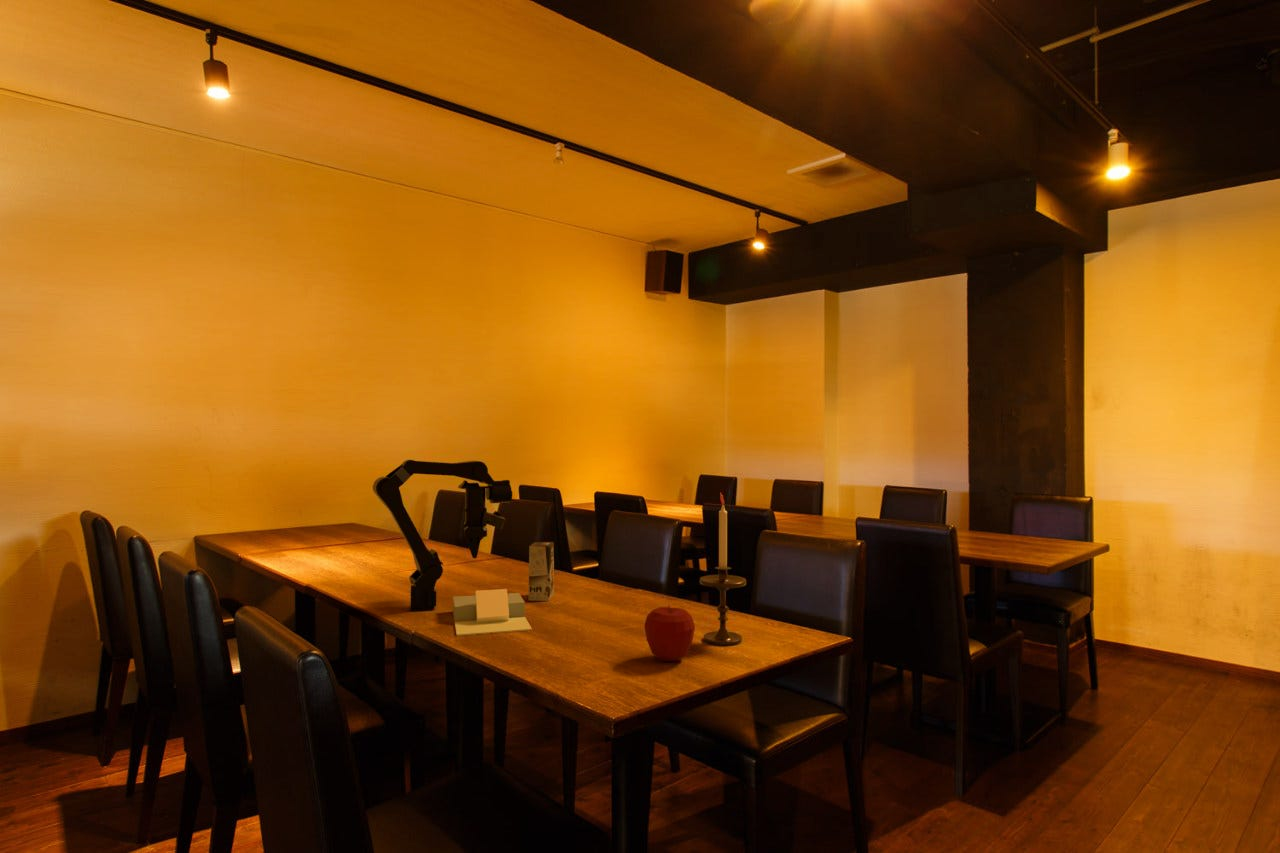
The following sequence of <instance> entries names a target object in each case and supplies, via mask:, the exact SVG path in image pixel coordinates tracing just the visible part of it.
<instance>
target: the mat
mask: <svg viewBox="0 0 1280 853" xmlns="http://www.w3.org/2000/svg"><path fill="white" fill-rule="evenodd" d="M454 626H455V627H454V628H455V632H456V637H464V636H465V635H466V636H477V634H479V635H488V634H489V635H490V633H492V634H501V633H502V634H503V633H504V634H505V633H515V632H530V630H531V631H533V628H532V627H531V625H530V623H529V622H528V620H527V618H526V616H525V617H518V618H509V620H508V621H498V622H485V623H477V620H475V621H461V622H454ZM466 636H465V637H466Z"/></svg>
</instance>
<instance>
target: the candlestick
mask: <svg viewBox="0 0 1280 853" xmlns="http://www.w3.org/2000/svg"><path fill="white" fill-rule="evenodd" d="M719 495H720V498H719V499H720V502H721V509H720V510H719V511H718V566H715V567H714V569H716V570H718V574H708V575H703V576H701V577H699V584H700V585H701V586H704V587H708V588H715V589H717V590H718V591H719V605H718V606H717V607H716V610H717V612H718V613H719V616H718V617H717V621H719V628H718V630H715V631H709V632H705V634H703V642H705V643H706V644H710V645H713V646H720V647H731V646H738V645H739V644H742V643H743V637H742V635H740V634H739V633H736V632H733V631H728V630H727V628H726V626H727V625H726V624H727V623H726V622H727V621H728V620H729V617H727V613H728V612H729V609H730V608H729V606H727V605H726V604H727V599H726V598H727V595H726V592H727V591H728V590H730V589H737V588H743V587H745V586H746V585H747V579H746V578H745V577H742V576H739V575H732V574H728V570H732V567H730V566H728V511H727V510H726V509H725V500H724V495H723V494H722V492H720V493H719Z"/></svg>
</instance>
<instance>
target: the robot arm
mask: <svg viewBox="0 0 1280 853" xmlns="http://www.w3.org/2000/svg"><path fill="white" fill-rule="evenodd" d="M413 475H428V476H430V475H433V476H435V475H436V476H453V477H458V478H462V479H464V480H463V481H462V482H461V483H460V484H459V485H458V486H457V488H458V489H461V490H464V491H465V497H464V498H465V500H464V501H465V504H464V506H465V508H464V513H465V514H464V523H463V530H464V532H463V536H464V537H463V538H465V541H466V543H467V546H468V549H469V551H470V554H471V557H472V559H477V558H478V553H479V549H480V543H481V542H482V540H483V539H484V538H486V537H488V528H487V525H489V526H492V527H495V528H497V529H498V530H502V529H503V527H504V524H505V521H506V518H505V517H504V516H501V512H500V511H497V510H495V511H494V512H493V513H492V512H487V511H488V509H487V507H486V501H489V503H490V504H505V503H506V504H509V503H511V502H512V500H513V491H512V490H513V489H512V486H511V480H509V479H501V480H494V479H493V477H492V476H491V475H490V474H489V468H488V466H487V465H486V463H485V462H483V461H479V460H466V461H459V462H442V461H441V462H438V461H437V462H436V461H421V460H414V459H405V460H404V461H403V462H402V463H401V464H400V465H399V466H398V467H396V468H395V469H393V470H392V471H390V472H389V473H388V474H387V475H386V476H380V477H377V479H375V481H374V482H373V485H372V491H373V493H374V494H375V495H376V496H377V498H378V499H379V501H380V502H381V503H382V504H383V505H384V506H385V507H386V508H387V509H388V511H389V513H390V514H391V516H392V518H393V520H394V522H395V523H396V525H397V527H398V529H399V530H400V533H401V534H402V536H403V538H404V540H405V541H406V544H407V545H408V547H409V549H410V551H411V552H412V556H413V561H414V565H415V567H416V570H415V571H414V572H412V573H411V574H410V575H409V577H408V579H409V581H410V582H409V583H410V584H411V585H410V604H409V612H418V611H433V610H436V609H435V607H436V606H437V589H435V587H436V584H437V581H438V580H439V579H441V577H442V575H443V572H444V567H443V565H444V563H443V562H442V561H441V560H440V557H439V554H438V552H437V551H436V550H434V549H432V548H431V549H430V550H429V549H428V548H427V546H426V544H425V542H424V540H423V539H422V537H421V535H420V533H419V532H418V530H417V528H416V525H415V524H414V522H413V520H412V518H411V517H410V515H409V513H408V511H407V509H406V507H405V505H404V500H403V498H402V494H401V490H400V487H402V486H403V485H404V484H405V483H407V481H408V480H409V479H410V478H411V477H412V476H413ZM467 480H470V481H475V482H468V481H467ZM480 484H485V485H480Z"/></svg>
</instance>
